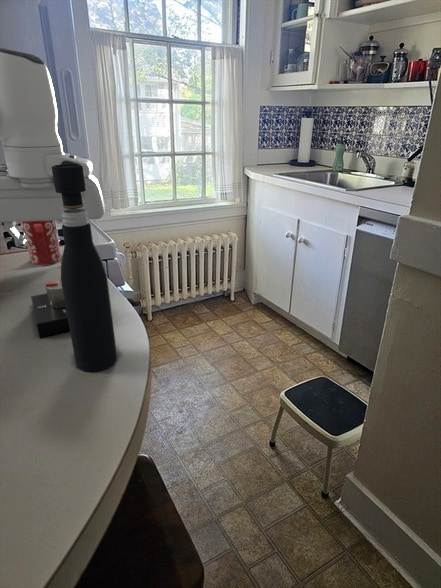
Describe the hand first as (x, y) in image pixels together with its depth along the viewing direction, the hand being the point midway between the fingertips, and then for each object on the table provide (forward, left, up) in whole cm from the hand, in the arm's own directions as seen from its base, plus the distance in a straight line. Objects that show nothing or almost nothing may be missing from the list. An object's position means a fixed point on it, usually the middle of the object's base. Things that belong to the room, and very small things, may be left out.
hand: (49, 244), depth 70 cm
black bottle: (+3, -18, -15) cm, 24 cm away
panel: (0, 0, -15) cm, 15 cm away
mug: (0, +34, -15) cm, 37 cm away
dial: (0, 0, -12) cm, 12 cm away
